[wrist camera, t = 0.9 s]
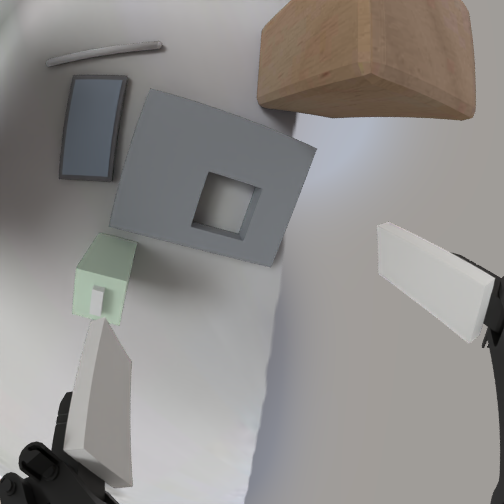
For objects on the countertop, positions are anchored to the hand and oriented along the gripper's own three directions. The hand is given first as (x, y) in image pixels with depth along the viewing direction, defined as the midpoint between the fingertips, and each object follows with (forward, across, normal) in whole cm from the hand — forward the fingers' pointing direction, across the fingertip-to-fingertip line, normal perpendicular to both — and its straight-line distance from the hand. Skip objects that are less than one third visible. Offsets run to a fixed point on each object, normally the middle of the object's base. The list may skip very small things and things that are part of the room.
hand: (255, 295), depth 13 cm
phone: (+21, -9, +11) cm, 25 cm away
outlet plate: (+21, +2, +2) cm, 21 cm away
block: (+21, +14, +11) cm, 28 cm away
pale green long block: (+21, -11, -3) cm, 24 cm away
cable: (+21, -6, +19) cm, 29 cm away
